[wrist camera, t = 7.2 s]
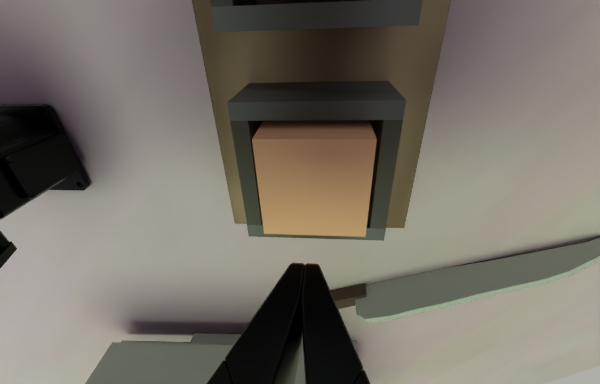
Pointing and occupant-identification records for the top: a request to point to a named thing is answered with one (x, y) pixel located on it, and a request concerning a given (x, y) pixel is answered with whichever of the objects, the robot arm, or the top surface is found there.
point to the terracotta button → (315, 176)
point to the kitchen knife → (464, 282)
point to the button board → (322, 85)
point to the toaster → (170, 361)
